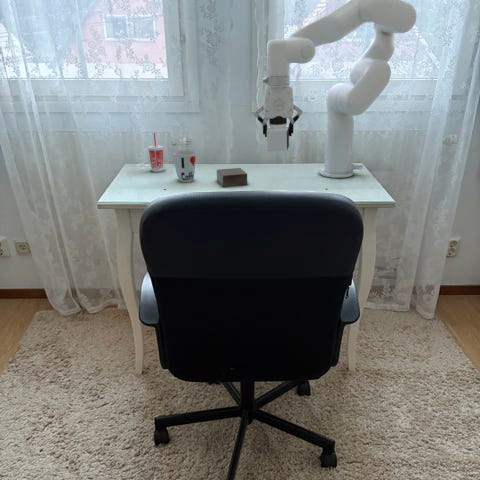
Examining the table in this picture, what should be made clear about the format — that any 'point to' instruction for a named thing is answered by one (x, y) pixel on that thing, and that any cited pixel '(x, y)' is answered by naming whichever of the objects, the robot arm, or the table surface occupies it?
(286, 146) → the medicine bottle
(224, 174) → the walnut block
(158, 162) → the beverage cup
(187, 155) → the cup
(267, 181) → the table surface
